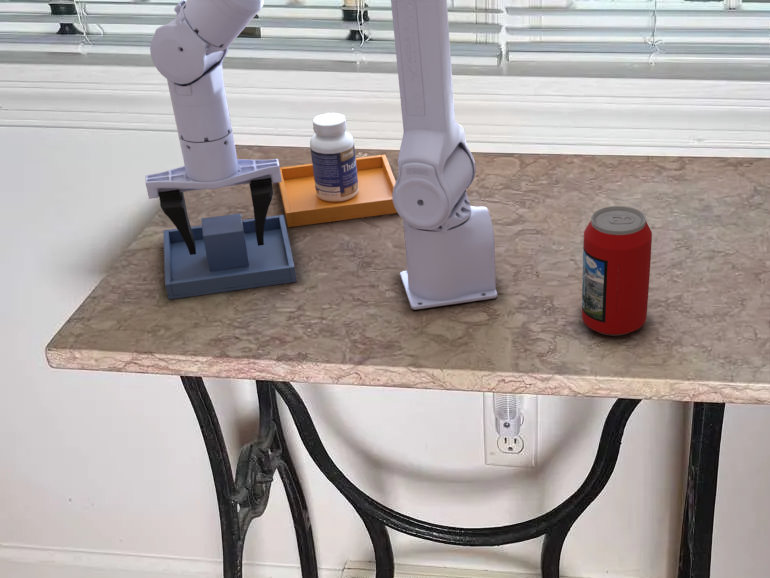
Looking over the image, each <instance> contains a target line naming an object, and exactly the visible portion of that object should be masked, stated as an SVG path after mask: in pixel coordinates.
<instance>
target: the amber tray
mask: <svg viewBox="0 0 770 578" xmlns="http://www.w3.org/2000/svg"><path fill="white" fill-rule="evenodd" d="M356 167H357V178H358V193H357V195H356V196H355V197H353V198H351V199H349V200H346V201H341V202H329V201H325V200H322V199H320V198H319V197H318V196H317V194H316V189H315V180H314V172H313V165H312V163H305V164H304V163H303V164H297V165H288V166H282V167H280V173H281V179H282V182H277V183H278V187H279V188H278V189H279V192H280V196H281V202H282V206H283V211H284V217H285V222H286V226H287V228H294V227H302V226H309V225H315V224H324V223H331V222H340V221H347V220H355V219H362V218H369V217H376V216H383V215H392V214H398V213H397V211H396V209H395V207H394V204H393V198H392V195H393V188H394V186H395V183H396V181H397V180H396V178H395V176H394V173H393V171H392V167H391V165H390V163H389V160H388V157H387V155H386V154H377V155H370V156H368V155H367V156H362V157H360V156H359V157H356Z"/></svg>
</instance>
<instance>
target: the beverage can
mask: <svg viewBox="0 0 770 578" xmlns="http://www.w3.org/2000/svg"><path fill="white" fill-rule="evenodd" d="M652 242H653V232H652V230H651V228H650V225H649V224H648V222H647V218H646V215H645V214H644V213H643V212H642V211H640V210H638V209H636V208H634V207H630V206H623V205H621V206H620V205H614V206H613V205H612V206H606V207H603V208H599V209H598V210H596V211H595V212H593V214H592V215H591V217H590V220H589V222H588V224H587V226H586V227H585V229H584V230H583V247H582V248H583V249H582V278H581V279H582V283H581V284H582V285H581V289H582V290H581V319H582V321H583V323H584V324H585V326H586V327H588V328H590V329H591V330H593V331H595V332H597V333H599V334H602V335H605V336H613V337H615V336H623V335H627V334H630V333H632V332H635V331H637V330H639V329H640V328H641V327H643V326H644V324H646V321H647V316H648V315H647V314H648V304H649V303H648V302H649V289H650V275H651V263H652V262H651V261H652V260H651V259H652Z"/></svg>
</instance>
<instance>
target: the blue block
mask: <svg viewBox="0 0 770 578" xmlns="http://www.w3.org/2000/svg"><path fill="white" fill-rule="evenodd" d="M242 217H243V216H242V213H239V212H238V213H232V214H226V215H225V214H223V215H218V216H209V217H201V218H200V219H201V221H200V222H201V225H202V232H203V240H204V245H205V250H206V255H207V260H208V265H209V270H210V271H217V270H225V269H232V268H239V267H247V266H249V259H248V252H247V246H246V240H245V235H244V229H243V223H242V220H243V218H242Z"/></svg>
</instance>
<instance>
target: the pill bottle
mask: <svg viewBox="0 0 770 578" xmlns="http://www.w3.org/2000/svg"><path fill="white" fill-rule="evenodd" d="M347 126H348V125H347V118H346V116H345V115H344V114H342V113H339V112H325V113H321V114H318V115H316V116H314V118H313V119H312V129H313V132H314V134H313V135H312V137H311V138H310V140H309V147H310V148H309V149H310V155H311V164H312V165H313V172H314V180H315V189H316V194H317V196H318V197H319V198H320V199H322V200H325V201H329V202H341V201H346V200H349V199H351V198H353V197H355V196H356V195H357V193H358V178H357V167H356V158H357V157H356V148H355V140H354V137H353V135H352V134H351V133H350V132H349V131H348V130H347V129H348V127H347Z"/></svg>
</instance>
